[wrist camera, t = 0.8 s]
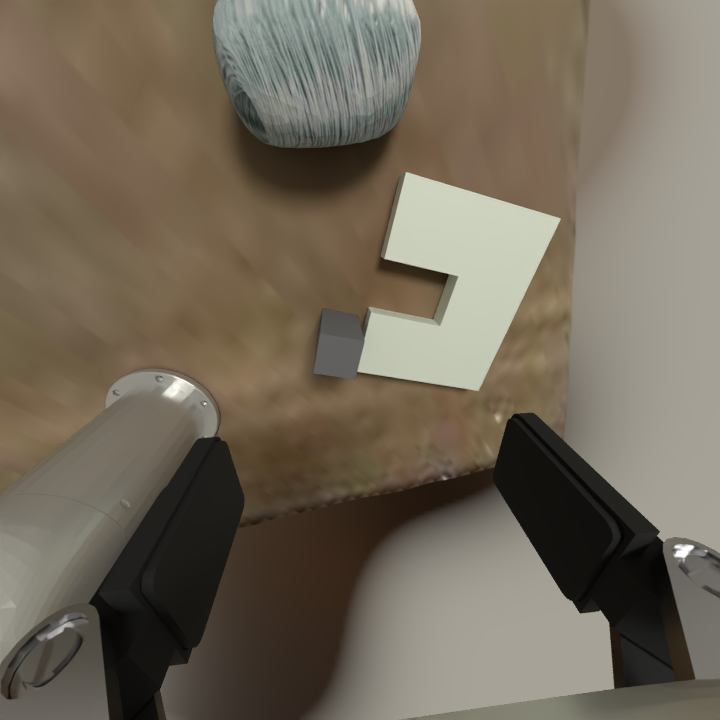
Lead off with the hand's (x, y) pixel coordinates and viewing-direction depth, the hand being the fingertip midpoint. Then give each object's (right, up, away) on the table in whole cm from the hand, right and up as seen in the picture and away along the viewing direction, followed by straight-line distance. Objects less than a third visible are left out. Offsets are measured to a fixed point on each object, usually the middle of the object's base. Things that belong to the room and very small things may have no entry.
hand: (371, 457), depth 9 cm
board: (+9, +11, +22) cm, 26 cm away
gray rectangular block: (-3, +7, +23) cm, 24 cm away
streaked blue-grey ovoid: (-4, +26, +14) cm, 29 cm away
